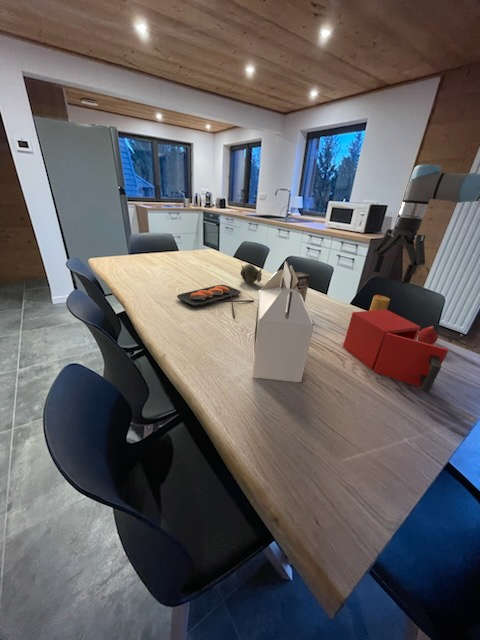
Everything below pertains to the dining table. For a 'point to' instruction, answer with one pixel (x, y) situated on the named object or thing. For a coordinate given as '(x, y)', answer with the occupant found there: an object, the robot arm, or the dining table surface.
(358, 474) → the dining table surface
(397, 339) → the red drawer
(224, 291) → the sushi plate
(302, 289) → the coffee box
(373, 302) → the yellow orange cylinder
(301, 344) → the gable box
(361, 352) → the valve cabinet
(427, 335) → the onion
